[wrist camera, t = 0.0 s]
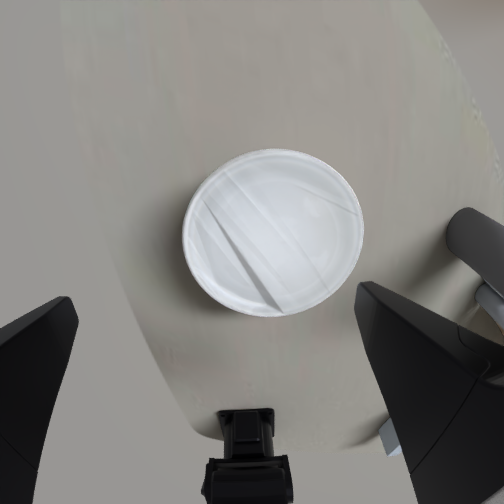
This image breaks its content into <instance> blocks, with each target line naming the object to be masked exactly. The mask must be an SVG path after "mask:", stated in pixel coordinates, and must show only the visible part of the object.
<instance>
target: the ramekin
mask: <svg viewBox="0 0 504 504" xmlns="http://www.w3.org/2000/svg"><path fill="white" fill-rule="evenodd" d="M363 234H364V223H363V217H362V211H361V208H360V205H359V203H358V200H357V197H356V195H355V193H354V191H353V190H352V188H351V187H350V185H349V184H348V183H347V182H346V180H345V179H344V178H343V177H342V176H341V175H340V174H339V173H338V172H337V171H336V170H334V169H333V168H332V167H330V166H329V165H328V164H326V163H324V162H323V161H321V160H319V159H317V158H315V157H313V156H311V155H308V154H305V153H302V152H298V151H294V150H287V149H263V150H257V151H253V152H249V153H246V154H243V155H240V156H237V157H235V158H233V159H231V160H229V161H228V162H226V163H224V164H223V165H221V166H220V167H218V168H217V169H216V170H214V171H213V172H212V173H211V174H210V175H209V176H208V177H207V178H206V179H205V180H204V181H203V182H202V183H201V185H200V186H199V187H198V189H197V190H196V192H195V193H194V195H193V197H192V198H191V201H190V203H189V205H188V208H187V210H186V213H185V217H184V221H183V227H182V245H183V252H184V255H185V259H186V262H187V265H188V267H189V269H190V271H191V273H192V275H193V277H194V278H195V280H196V281H197V283H198V284H199V285H200V286H201V288H202V289H203V290H204V291H205V292H206V293H207V294H209V296H210V297H212V298H213V299H215V300H216V301H217V302H219V303H220V304H222V305H224V306H226V307H227V308H230V309H232V310H235V311H237V312H240V313H243V314H247V315H252V316H257V317H280V316H287V315H291V314H295V313H299V312H302V311H304V310H307V309H309V308H312V307H314V306H315V305H317V304H319V303H321V302H322V301H324V300H325V299H327V298H328V297H329V296H331V295H332V294H333V293H334V292H335V291H336V290H337V289H338V288H339V287H340V286H341V285H342V284H343V283H344V282H345V280H346V279H347V277H348V276H349V275H350V273H351V272H352V270H353V268H354V267H355V265H356V262H357V260H358V258H359V255H360V251H361V248H362V243H363Z"/></svg>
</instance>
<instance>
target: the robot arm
mask: <svg viewBox="0 0 504 504" xmlns="http://www.w3.org/2000/svg"><path fill="white" fill-rule="evenodd" d="M354 311H355V315H356V319H357V322H358V326H359V330H360V333H361V337H362V340H363V344H364V348H365V351H366V354H367V357H368V360H369V362H370V365H371V367H372V370H373V372H374V375H375V377H376V380H377V383H378V385H379V388H380V390H381V393H382V396H383V398H384V401H385V404H386V406H387V409H388V412H389V415H390V417H391V420H392V423H393V426H394V429H395V432H396V434H397V437H398V440H399V443H400V446H401V449H402V452H403V455H404V458H405V461H406V464H407V467H408V470H409V473H410V478H411V481H412V484H413V487H414V491H415V494H416V497H417V501H418V504H504V346H502V345H500V344H497V343H495V342H493V341H491V340H489V339H486V338H484V337H482V336H480V335H478V334H476V333H474V332H472V331H470V330H468V329H466V328H464V327H462V326H460V325H459V326H458V325H457V324H456V323H454V322H452V321H450V320H448V319H446V318H444V317H442V316H440V315H439V314H437V313H435V312H433V311H431V310H429V309H427V308H425V307H423V306H421V305H419V304H417V303H415V302H413V301H411V300H409V299H407V298H405V297H403V296H401V295H399V294H397V293H395V292H393V291H390V290H388V289H386V288H384V287H382V286H380V285H378V284H376V283H374V282H372V281H367V282H360V283H359V284H358V286H357V291H356V298H355V304H354ZM78 323H79V321H78V316H77V313H76V311H75V308H74V305H73V303H72V301H71V299H70V298H69V297H67V296H59V297H57V298H55V299H53V300H51V301H49V302H48V303H45V304H44V305H42V306H40V307H38V308H36V309H34V310H33V311H31V312H29V313H27V314H25V315H23V316H22V317H20V318H18V319H16V320H14V321H13V322H11V323H9V324H7V325H6V326H4V327H2V328H0V504H32V503H33V496H34V490H35V485H36V479H37V474H38V472H37V471H38V468H39V463H40V458H41V454H42V450H43V446H44V441H45V437H46V434H47V429H48V426H49V422H50V418H51V415H52V412H53V408H54V405H55V401H56V398H57V395H58V392H59V389H60V386H61V383H62V380H63V376H64V373H65V371H66V368H67V365H68V362H69V357H70V354H71V350H72V346H73V342H74V339H75V335H76V331H77V328H78ZM219 420H220V424H221V428H222V432H223V436H224V459H215V458H209V463H208V464H206V474H205V479H204V482H203V486H202V489H201V494H202V495H204V497H205V499H206V501H207V504H291V503H293V485H292V478H291V472H290V467H289V462H288V456H287V455H282V456H274V450H273V440H272V437H274V409H256V410H235V411H220V412H219Z"/></svg>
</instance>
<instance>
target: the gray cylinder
mask: <svg viewBox="0 0 504 504" xmlns="http://www.w3.org/2000/svg"><path fill="white" fill-rule="evenodd" d="M446 242H447V246H448V248H449V249H450V251H451V252H453V253H454V254H455V255H456V256H458V257H459V258H460V259H461V260H462V261H464V262H465V263H466V264H467V265H468V266H470V267H471V268H472V269H473V270H474V271H475V272H477V273H478V274H479V275H480V276H481V277H482V278H484V279H485V280H486V281H487V282H488V283H489V284H490V285H491V286H493V287H494V288H495V289H496V290H497V291H498V292H499V293H500V294H501V295H502V296H503V297H504V226H503V225H501V224H499V223H498V222H496V221H494V220H493V219H491V218H489V217H487V216H486V215H484V214H482V213H480V212H478V211H477V210H475V209H473V208H469V207H467V208H463V209H461V210H459V211H458V212H457V213H456V214H455V215H454V216H453V218H452V219H451V221H450V223H449V225H448V228H447V233H446Z"/></svg>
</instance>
